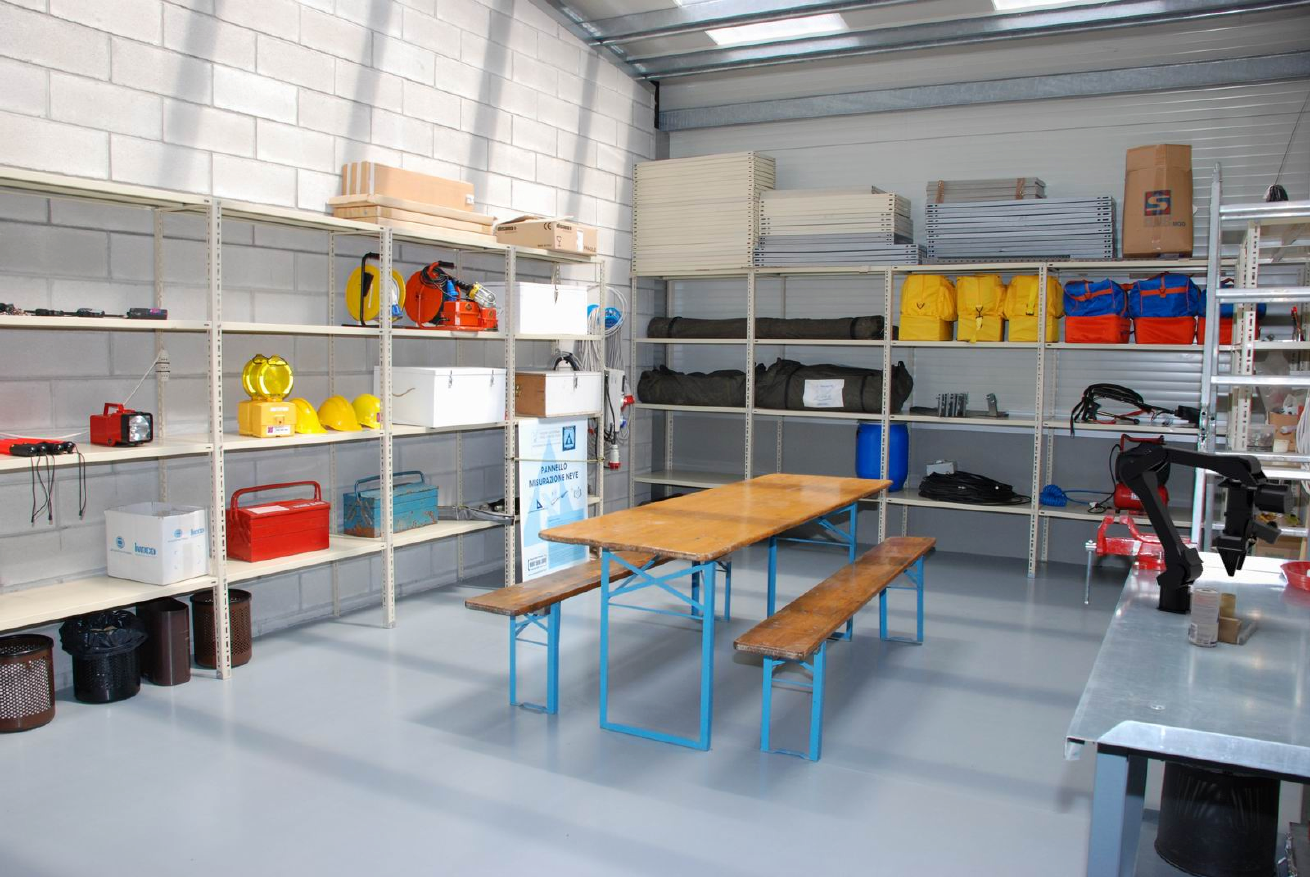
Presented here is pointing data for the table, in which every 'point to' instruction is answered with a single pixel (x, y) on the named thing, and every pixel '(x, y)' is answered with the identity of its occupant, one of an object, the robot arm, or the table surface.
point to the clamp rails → (1246, 633)
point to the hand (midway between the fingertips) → (1234, 573)
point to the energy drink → (1205, 617)
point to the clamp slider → (1228, 619)
